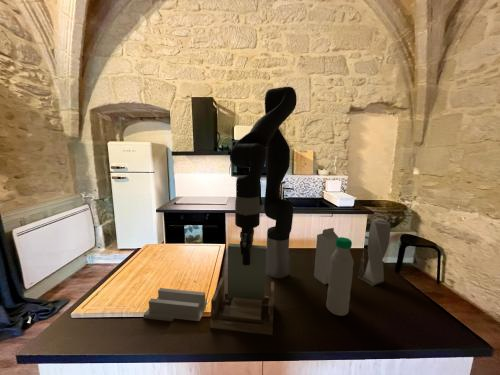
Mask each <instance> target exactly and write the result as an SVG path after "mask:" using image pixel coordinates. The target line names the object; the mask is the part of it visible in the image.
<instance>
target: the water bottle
mask: <svg viewBox="0 0 500 375" xmlns="http://www.w3.org/2000/svg"><path fill="white" fill-rule="evenodd" d="M338 237H339V236H338ZM352 246H353V242H352V240H351V239H350V238H348V237H342V236H340V237H339V238H337V239H336V247H337V249H336V250H335V251H334V253H333V254H332V256H331V258H330V262H331V264H330V270H329V283H328V287H327V292H326V293H327V297H326V298H327V299H326V308H327V310H328V311H329V312H330V313H331V314H333V315H335V316H340V317H344V316H346V315H348V314H349V312H350V311H349V310H350V301H351V289H352V284H353V283H352V282H353V274H354V273H353V272H354V271H353V270H354V269H353V267H354V265H355V262H354V258H353V257H352V253H351V251H350V250H351V249H352Z"/></svg>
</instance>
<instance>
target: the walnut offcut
mask: <svg viewBox="0 0 500 375" xmlns="http://www.w3.org/2000/svg"><path fill="white" fill-rule="evenodd" d="M222 320H225V321H234V322H242V323H251V324H260V325H263V309H262V312H261V320H257V319H248V318H239V317H230V306H227V305H225V307H224V310H223V313H222Z"/></svg>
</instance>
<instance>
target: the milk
mask: <svg viewBox="0 0 500 375" xmlns="http://www.w3.org/2000/svg"><path fill="white" fill-rule="evenodd" d="M334 228H335V227H331V228H324V229H322V233H319V234H318V233H317V235H316V244H315V245H316V246H315V256H314V257H315V259H314V272H313V277H314V278H315V279H316V280H317V281H319V282H320V283H322V284H323V285H326V284H329V270H330V264H331V262H330V258H331V256H332V254H333V253H334V251H335V250H336V249H337V247H336V239H337V238H339V236H338V234H337V233H336V232H335V230H334Z"/></svg>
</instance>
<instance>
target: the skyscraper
mask: <svg viewBox="0 0 500 375" xmlns="http://www.w3.org/2000/svg"><path fill="white" fill-rule="evenodd" d="M380 216H387V217H386V218H385V219H384V218H380ZM377 217H379V218H377ZM389 218H390V215H389V214H385V213H383V214H382V213H381V214H376V215H375V216H373V217H372V219H371V223H370V227H369V233H368V238H367V254H368V261H367V264H366V268H364V265H365V261H366V260H365V258H364V257H365V249H362V254H361V258H360V264H359V269H358V270H359V271H358V276H356V277H357V278H358V279H360V280H361V281H363V282H365V283H366V284H368V285H369V286H371V287H374V286H377V285H379V284H382V283H384V281H385V278H384V277H385V276H384V258H385V256H386V253H387V250H388V248H389V245H390V239H391V238H390V237H391V222H388V219H389Z"/></svg>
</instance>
